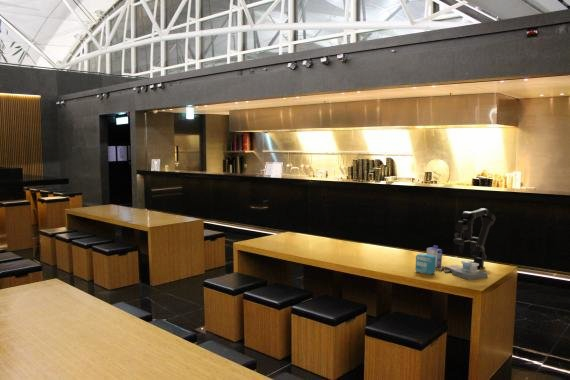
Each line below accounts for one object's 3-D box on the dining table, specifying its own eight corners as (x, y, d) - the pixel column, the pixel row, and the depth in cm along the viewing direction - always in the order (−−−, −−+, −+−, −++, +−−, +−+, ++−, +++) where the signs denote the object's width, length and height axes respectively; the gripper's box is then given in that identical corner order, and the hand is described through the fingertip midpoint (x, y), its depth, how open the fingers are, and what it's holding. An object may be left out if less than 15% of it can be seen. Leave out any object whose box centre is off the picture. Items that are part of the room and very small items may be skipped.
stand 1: (456, 267, 337) (457, 264, 336) (468, 271, 327) (469, 268, 326) (444, 269, 332) (444, 266, 332) (456, 273, 322) (456, 270, 322)
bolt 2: (450, 271, 326) (450, 268, 326) (453, 272, 324) (453, 268, 324) (444, 272, 324) (444, 269, 323) (446, 273, 322) (446, 269, 321)
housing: (468, 269, 321) (468, 260, 321) (478, 272, 313) (478, 263, 313) (461, 270, 319) (461, 261, 318) (471, 273, 311) (471, 264, 310)
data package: (415, 271, 325) (415, 254, 324) (417, 270, 329) (418, 253, 327) (432, 274, 318) (433, 257, 317) (435, 273, 321) (435, 255, 320)
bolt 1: (441, 269, 332) (441, 265, 332) (444, 269, 331) (445, 266, 330) (438, 270, 328) (438, 267, 328) (441, 271, 326) (441, 268, 326)
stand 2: (469, 271, 326) (470, 267, 326) (487, 277, 313) (487, 272, 312) (451, 274, 320) (452, 269, 320) (468, 280, 306) (469, 275, 306)
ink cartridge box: (442, 266, 339) (442, 246, 337) (436, 267, 336) (437, 247, 334) (430, 263, 347) (431, 243, 346) (425, 264, 344) (426, 244, 343)
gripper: (468, 227, 337) (467, 249, 338) (448, 229, 329) (447, 251, 331) (481, 230, 327) (480, 252, 328) (460, 231, 319) (459, 255, 321)
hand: (466, 252), depth 327 cm, fingers open, 9 cm apart
